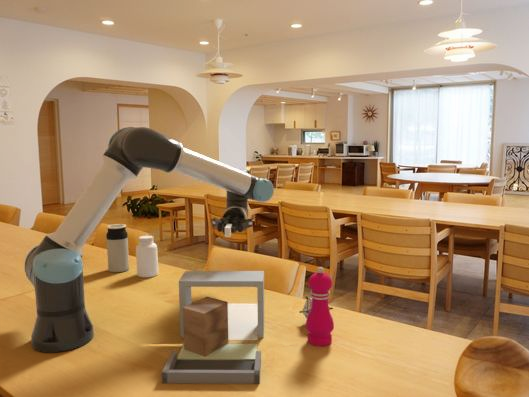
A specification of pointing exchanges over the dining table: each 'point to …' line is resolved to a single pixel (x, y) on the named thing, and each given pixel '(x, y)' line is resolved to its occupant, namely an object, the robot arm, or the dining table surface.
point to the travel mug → (117, 248)
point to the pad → (223, 353)
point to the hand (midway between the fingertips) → (227, 232)
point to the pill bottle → (146, 257)
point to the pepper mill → (320, 310)
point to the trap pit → (212, 370)
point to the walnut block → (205, 325)
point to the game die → (308, 307)
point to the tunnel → (239, 314)
